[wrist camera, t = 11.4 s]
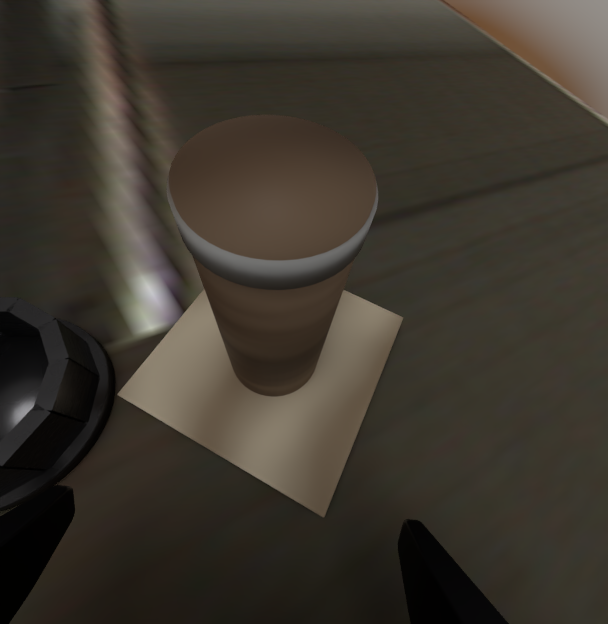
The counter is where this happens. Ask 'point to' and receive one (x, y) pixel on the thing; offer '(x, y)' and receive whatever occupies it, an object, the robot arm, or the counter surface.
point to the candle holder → (47, 399)
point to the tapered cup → (272, 237)
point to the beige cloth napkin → (270, 398)
